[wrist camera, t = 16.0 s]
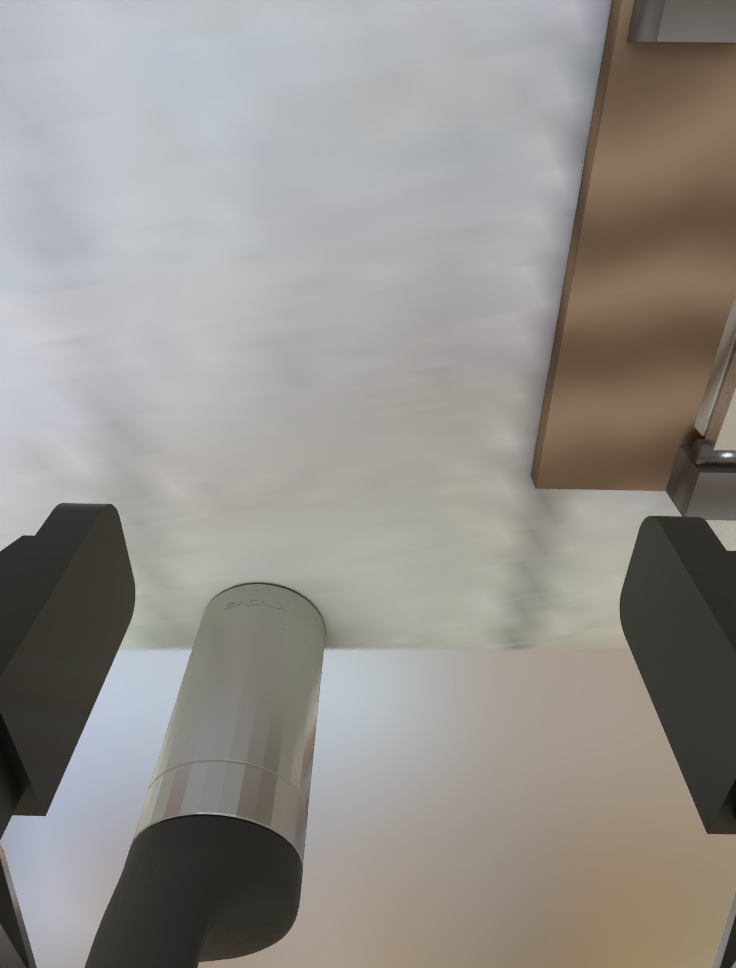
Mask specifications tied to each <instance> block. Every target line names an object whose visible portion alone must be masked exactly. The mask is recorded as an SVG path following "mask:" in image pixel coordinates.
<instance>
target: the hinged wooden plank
mask: <svg viewBox="0 0 736 968" xmlns="http://www.w3.org/2000/svg"><path fill="white" fill-rule="evenodd" d="M735 350H736V0H612V5H611V11H610V17H609V23H608V29H607V34H606V40H605V46H604V52H603V58H602V64H601V70H600V75H599V81H598V87H597V93H596V99H595V105H594V111H593V116H592V122H591V128H590V134H589V140H588V146H587V151H586V157H585V163H584V169H583V175H582V181H581V187H580V192H579V198H578V204H577V210H576V216H575V222H574V228H573V233H572V239H571V245H570V251H569V257H568V263H567V269H566V274H565V280H564V286H563V292H562V298H561V304H560V310H559V315H558V321H557V327H556V333H555V339H554V345H553V351H552V356H551V362H550V368H549V374H548V380H547V386H546V391H545V397H544V403H543V409H542V415H541V421H540V427H539V432H538V438H537V444H536V450H535V456H534V462H533V468H532V473H531V476H532V479H533V482H534V485H535V488H543V489H595V490H647V491H666V492H667V494H668V495H669V497H670V498H671V500H672V501H673V503H674V504H675V506H676V508H677V509H678V511H679V512H680V514H681V515H682V517H701V518H703V519H704V520H736V465H703V464H695V463H694V462H693V460H692V455H691V451H692V446H693V443H694V441H695V440H697V439H705V437H706V434H707V431H708V428H709V425H710V422H711V419H712V416H713V414H714V411H715V408H716V405H717V402H718V399H719V396H720V393H721V391H722V388H723V385H724V382H725V379H726V376H727V373H728V370H729V367H730V365H731V362H732V359H733V356H734V353H735Z"/></svg>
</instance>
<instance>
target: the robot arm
mask: <svg viewBox="0 0 736 968" xmlns="http://www.w3.org/2000/svg"><path fill="white" fill-rule="evenodd" d="M134 605H135V582H134V577H133V573H132V568H131V564H130V560H129V555H128V551H127V547H126V543H125V538H124V534H123V530H122V525H121V521H120V517H119V514H118V511H117V509H116V508H115V507H114V506H113V505H112V504H77V503H61V504H59V505H57V506H56V507H55V508H54V510H53V511H52V512H51V514H50V515H49V517H48V518H47V519H46V521H45V522H44V524H43V525H42V527H41V528H40V529H39V531H38V532H37V534H36V535H35V536H21V537H20V538H19V539H17V540H16V541H14V542H13V543H12V544H10V545H9V546H7V547H6V548H5V549H3V550H2V551H0V839H1V837H2V835H3V833H4V831H5V829H6V827H7V825H8V823H9V821H10V819H11V817H12V815H26V816H46V814H47V811H48V809H49V807H50V805H51V802H52V800H53V797H54V795H55V793H56V791H57V788H58V786H59V784H60V782H61V779H62V777H63V775H64V772H65V770H66V768H67V766H68V763H69V761H70V759H71V756H72V754H73V752H74V750H75V747H76V745H77V743H78V740H79V738H80V736H81V734H82V731H83V729H84V727H85V724H86V722H87V720H88V718H89V715H90V713H91V711H92V708H93V706H94V704H95V702H96V699H97V697H98V695H99V692H100V690H101V688H102V686H103V683H104V681H105V679H106V676H107V674H108V672H109V670H110V667H111V665H112V663H113V660H114V658H115V656H116V653H117V651H118V649H119V647H120V644H121V642H122V640H123V638H124V635H125V633H126V631H127V628H128V626H129V624H130V621H131V619H132V615H133V611H134ZM620 619H621V625H622V629H623V632H624V635H625V637H626V640H627V642H628V645H629V647H630V649H631V651H632V654H633V656H634V659H635V661H636V664H637V666H638V669H639V671H640V673H641V676H642V678H643V680H644V683H645V685H646V688H647V690H648V693H649V695H650V697H651V700H652V702H653V705H654V707H655V709H656V712H657V714H658V716H659V719H660V721H661V724H662V726H663V728H664V731H665V733H666V736H667V738H668V740H669V743H670V745H671V748H672V750H673V753H674V755H675V757H676V760H677V762H678V764H679V767H680V769H681V772H682V774H683V777H684V779H685V781H686V784H687V786H688V788H689V791H690V793H691V796H692V798H693V801H694V803H695V805H696V808H697V810H698V813H699V815H700V817H701V820H702V822H703V825H704V827H705V830H706V832H707V833H708V834H736V551H726V549H725V548H724V546H723V545H722V543H721V542H720V541H719V539H718V538H717V536H716V535H715V533H714V532H713V530H712V529H711V527H710V526H709V525H708V523H707V522H706V521H705V520H704V519H703V518H701V517H675V516H648V517H646V518H645V519H644V521H643V522H642V524H641V526H640V529H639V533H638V536H637V539H636V543H635V546H634V550H633V553H632V557H631V560H630V564H629V567H628V571H627V574H626V577H625V581H624V584H623V588H622V592H621V597H620ZM324 642H325V627H324V623H323V620H322V618H321V616H320V614H319V613H318V611H317V610H316V608H315V607H314V606H313V605H312V604H311V603H310V602H309V601H307V600H306V599H304V598H303V597H301V596H300V595H298V594H296V593H294V592H292V591H290V590H288V589H285V588H281V587H277V586H273V585H265V584H250V585H243V586H238V587H234V588H231V589H229V590H227V591H225V592H222V593H221V594H220V595H218V596H217V597H216V598H214V599H213V600H212V601H211V603H210V604H209V605H208V606H207V608H206V610H205V612H204V615H203V617H202V621H201V624H200V627H199V630H198V633H197V637H196V640H195V643H194V646H193V649H192V652H191V655H190V658H189V661H188V665H187V668H186V671H185V674H184V678H183V681H182V684H181V687H180V690H179V693H178V696H177V700H176V703H175V706H174V709H173V713H172V716H171V719H170V722H169V725H168V729H167V732H166V735H165V738H164V741H163V745H162V748H161V751H160V754H159V757H158V761H157V764H156V767H155V770H154V773H153V777H152V780H151V783H150V786H149V790H148V794H147V797H146V800H145V803H144V806H143V810H142V813H141V816H140V819H139V822H138V826H137V829H136V832H135V835H134V838H133V842H132V845H131V847H130V850H129V853H128V857H127V860H126V863H125V866H124V869H123V872H122V874H121V877H120V879H119V882H118V884H117V886H116V888H115V891H114V893H113V896H112V897H111V900H110V902H109V904H108V907H107V909H106V911H105V913H104V916H103V918H102V921H101V923H100V926H99V928H98V931H97V934H96V936H95V939H94V942H93V945H92V947H91V951H90V954H89V956H88V959H87V962H86V965H85V968H197V967H198V963H199V962H203V961H214V960H222V959H231V958H237V957H242V956H245V955H249V954H252V953H255V952H258V951H261V950H263V949H265V948H267V947H269V946H271V945H273V944H274V943H276V942H278V941H279V940H280V939H282V938H283V937H284V936H285V935H286V934H287V933H288V931H289V930H290V929H291V927H292V925H293V924H294V922H295V919H296V916H297V912H298V909H299V902H300V894H301V884H302V872H303V859H304V849H305V837H306V828H307V817H308V804H309V794H310V784H311V773H312V763H313V753H314V743H315V732H316V722H317V712H318V701H319V691H320V680H321V673H322V663H323V652H324ZM0 968H37V967H36V964H35V960H34V957H33V953H32V950H31V946H30V942H29V939H28V935H27V932H26V928H25V925H24V921H23V918H22V914H21V910H20V907H19V903H18V900H17V896H16V893H15V889H14V886H13V882H12V879H11V875H10V871H9V868H8V864H7V861H6V857H5V854H4V850H3V848H2V846H1V844H0ZM713 968H736V893H735V897H734V900H733V903H732V906H731V909H730V913H729V916H728V919H727V922H726V926H725V929H724V932H723V935H722V939H721V942H720V945H719V948H718V952H717V955H716V958H715V961H714V965H713Z"/></svg>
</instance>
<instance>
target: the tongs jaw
mask: <svg viewBox="0 0 736 968" xmlns="http://www.w3.org/2000/svg"><path fill="white" fill-rule="evenodd" d="M691 455H692V460H693V462H694V463H695V464H703V465H736V350H735V353H734V356H733V359H732V362H731V365H730V367H729V370H728V373H727V376H726V379H725V382H724V385H723V388H722V391H721V393H720V396H719V399H718V402H717V405H716V408H715V411H714V414H713V416H712V419H711V422H710V425H709V428H708V431H707V434H706V437H705V439H697V440H695V441H694V443H693V446H692V451H691Z"/></svg>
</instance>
